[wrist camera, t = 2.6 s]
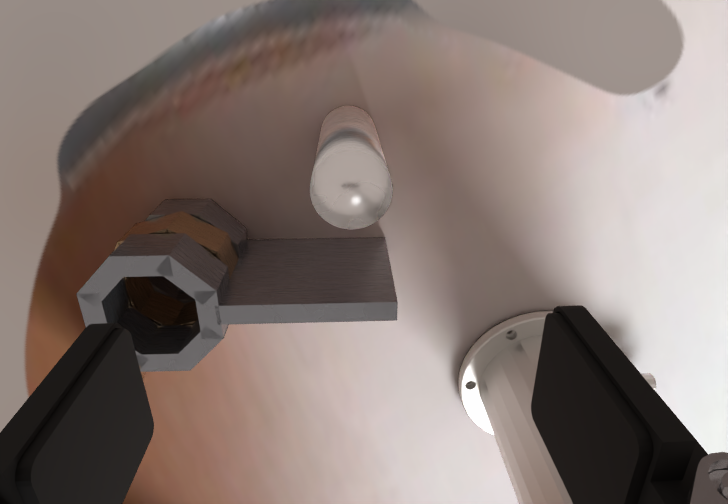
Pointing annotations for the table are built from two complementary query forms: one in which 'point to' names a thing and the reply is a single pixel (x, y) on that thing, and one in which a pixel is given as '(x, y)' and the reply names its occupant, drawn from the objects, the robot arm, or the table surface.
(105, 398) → the robot arm
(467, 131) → the table surface
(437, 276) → the table surface
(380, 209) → the hinge pin
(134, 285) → the bronze hinge leaf
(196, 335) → the fixed hinge leaf
